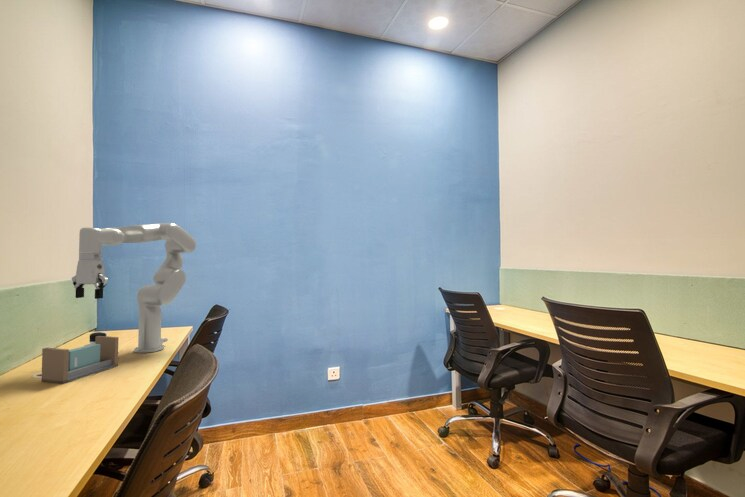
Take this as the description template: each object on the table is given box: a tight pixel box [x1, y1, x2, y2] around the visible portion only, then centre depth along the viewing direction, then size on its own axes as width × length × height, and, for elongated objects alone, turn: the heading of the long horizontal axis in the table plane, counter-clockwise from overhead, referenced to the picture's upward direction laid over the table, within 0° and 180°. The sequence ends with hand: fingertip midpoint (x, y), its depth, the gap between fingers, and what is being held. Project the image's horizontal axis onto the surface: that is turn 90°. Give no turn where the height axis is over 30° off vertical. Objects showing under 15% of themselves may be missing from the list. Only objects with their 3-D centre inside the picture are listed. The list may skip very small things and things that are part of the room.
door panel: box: [68, 344, 100, 372], centre depth 143 cm, size 12×3×9 cm, turn 168°
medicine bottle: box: [83, 331, 107, 346], centre depth 161 cm, size 7×7×12 cm
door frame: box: [41, 336, 119, 385], centre depth 143 cm, size 22×10×12 cm, turn 168°
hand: (89, 298), depth 153 cm, fingers open, 9 cm apart
